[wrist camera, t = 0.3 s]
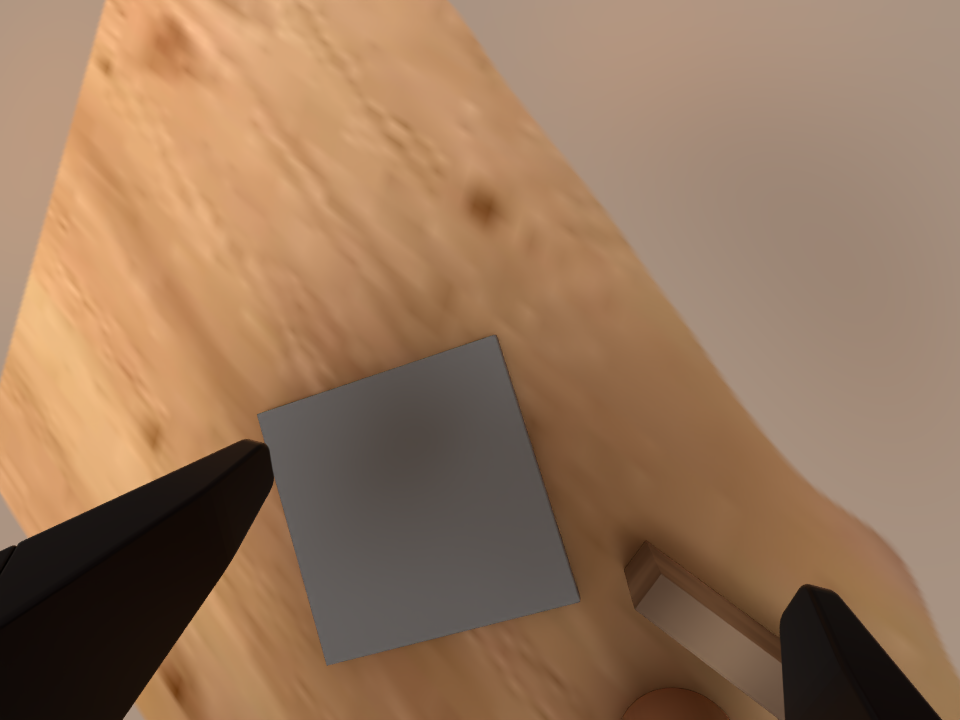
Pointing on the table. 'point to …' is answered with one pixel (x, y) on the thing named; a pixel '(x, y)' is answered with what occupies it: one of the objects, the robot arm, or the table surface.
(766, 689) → the walnut rail
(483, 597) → the dark grey mat
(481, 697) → the table surface
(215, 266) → the table surface
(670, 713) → the terracotta jar
